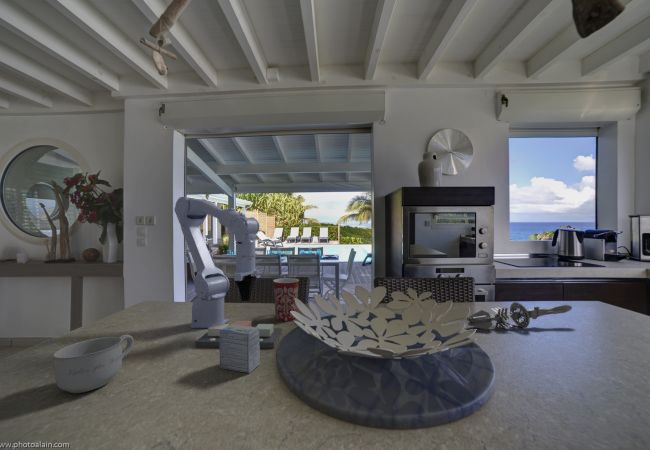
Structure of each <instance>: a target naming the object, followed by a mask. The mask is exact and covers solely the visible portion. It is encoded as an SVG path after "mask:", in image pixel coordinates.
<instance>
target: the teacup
mask: <svg viewBox="0 0 650 450" xmlns="http://www.w3.org/2000/svg"><path fill="white" fill-rule="evenodd" d="M124 340H126V344H125V345H126V346H125V347H124V348H123V344H122V343H123V342H124ZM134 342H135V341H134V338H133V336H132V335H130V334H122V335H120V336H119V337H118V336H102V337H96V338H92V339H88V340H87V339H86V340H83V341H79V342H76V343H72V344H70V345H67V346H65V347H63V348H59V349H58V350H57V351H55V352H54V353H53V355H52V358H53V361H54V362H53V367H54V370H53V371H54V379H55V384H56V386H57V387H58V388H59V389H60V390H62V391H66V392H68V393H72V394H81V393H86V392H90V391H94V390H96V389H99V388H101V387H104V386H105V385H106V384H108V383H109V382H111V380H113V378H114V377H115V376H116V375H117V374H118V373H119V371H121V368H122V366H123V365H122V364H123V359H124V358H125V357H126V356H127V355H128V353H130V351H131V350H132V348H133V346H134Z"/></svg>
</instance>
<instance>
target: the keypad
mask: <svg viewBox="0 0 650 450" xmlns="http://www.w3.org/2000/svg"><path fill="white" fill-rule="evenodd" d="M282 330H283V328H282V327H274V331H273V333H272V334H271V336H270V337H259V345H260V349H275V347H276V345H277V344H278V342H279V339H280V338H281V335H282V334H283V331H282ZM194 344H195V348H215V349H216V348H219V349H220V336H208V331H207V332H205V334H203V335H202V336H201V337H199V338H198V339H197V340H196V341H195V343H194Z"/></svg>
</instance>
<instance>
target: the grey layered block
mask: <svg viewBox="0 0 650 450" xmlns="http://www.w3.org/2000/svg"><path fill="white" fill-rule="evenodd" d="M260 350H261V348H260V345H259V328H257V327H256V326H251V327H249V326H241V325H232V324H229V326H227V327H225V328H223V329H222V330H220V348H219V368H220V369H223V370H228V371H229V370H230V371H235V372H242V373H246V374H251V373H252V372H253V371H254V370H256V368H257V367H258V366H260V363H261V351H260Z"/></svg>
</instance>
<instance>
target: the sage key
mask: <svg viewBox="0 0 650 450" xmlns="http://www.w3.org/2000/svg"><path fill="white" fill-rule="evenodd" d="M274 326H275V325H274V324H273V323H258V324H257V325H256V326H255V327H257V328H259V337H270V336H271V334H272V333H273V331H274V328H275V327H274Z"/></svg>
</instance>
